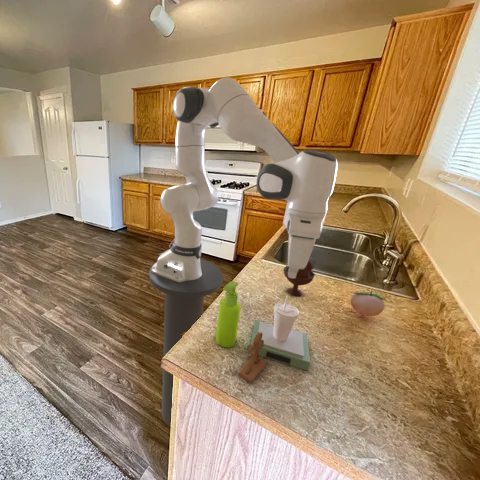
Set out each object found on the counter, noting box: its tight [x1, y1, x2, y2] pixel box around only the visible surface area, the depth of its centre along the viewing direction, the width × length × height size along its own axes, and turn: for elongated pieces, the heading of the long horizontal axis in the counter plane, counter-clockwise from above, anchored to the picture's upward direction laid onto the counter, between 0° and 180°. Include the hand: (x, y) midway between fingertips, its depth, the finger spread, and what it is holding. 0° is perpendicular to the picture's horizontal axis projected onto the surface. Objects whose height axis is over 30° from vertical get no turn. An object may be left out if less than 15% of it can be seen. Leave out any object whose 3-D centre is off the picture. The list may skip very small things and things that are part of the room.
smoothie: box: [273, 295, 300, 342], centre depth 74 cm, size 6×6×14 cm
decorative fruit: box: [350, 290, 387, 317], centre depth 91 cm, size 9×8×10 cm
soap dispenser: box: [215, 280, 242, 348], centre depth 76 cm, size 6×7×20 cm
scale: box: [250, 319, 311, 372], centre depth 77 cm, size 15×12×4 cm
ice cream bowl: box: [283, 259, 316, 297], centre depth 103 cm, size 11×11×15 cm
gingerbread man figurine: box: [237, 332, 267, 384], centre depth 68 cm, size 9×4×12 cm, turn 135°
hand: (291, 268), depth 71 cm, fingers open, 8 cm apart
